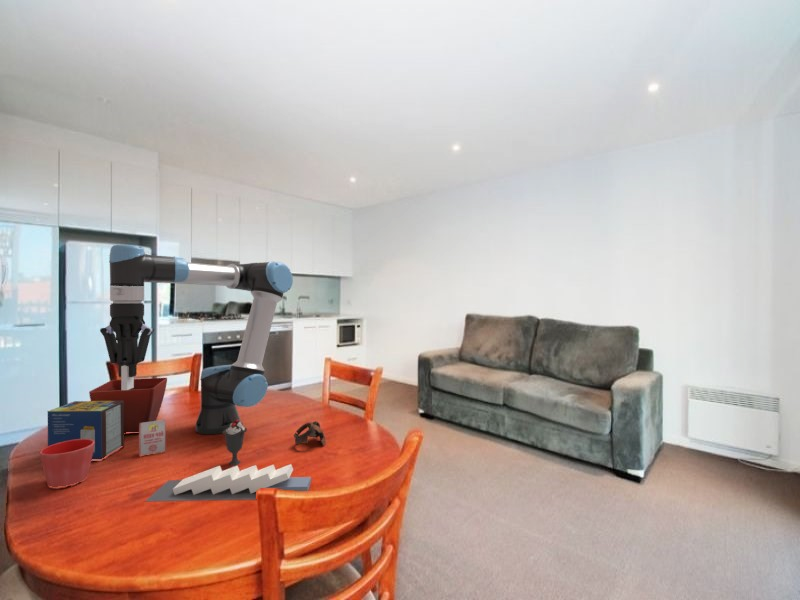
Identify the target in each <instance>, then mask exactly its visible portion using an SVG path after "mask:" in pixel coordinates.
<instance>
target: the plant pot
mask: <svg viewBox="0 0 800 600" xmlns="http://www.w3.org/2000/svg"><path fill="white" fill-rule="evenodd" d="M167 382H168V377H149V378H134V388H131V389H129V390H121V379H111V380H109V381H107V382H105V383H103V384H102V385H100V386H97V387H95V388H93V389H92V390H89V393H88V394H89V399H90V400H89V401H123V408H124V409H123V411H124V433H126V432H139V423H144V422H151V421H157V419H158V417H159V413H160V411H161V408H162V404H163V402H164V397H165V394H166V388H167V384H168V383H167Z"/></svg>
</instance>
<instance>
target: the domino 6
mask: <svg viewBox="0 0 800 600" xmlns="http://www.w3.org/2000/svg"><path fill="white" fill-rule="evenodd" d="M311 483H312V476H290V477H289V479H287V480H285V481H282V482H279V483H277V484H274V485H272V486H269V487H267V488H278V489H283V490H294V491H308V492H309V490H310V487H311Z"/></svg>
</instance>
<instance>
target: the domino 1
mask: <svg viewBox="0 0 800 600" xmlns="http://www.w3.org/2000/svg"><path fill="white" fill-rule="evenodd" d="M222 471H223V469H222V467H221V465H217V466H215V467H212V468H210V469H207V470H204V471H201V472H199V473H196V474H194V475H191V476H189V477H188V476H187V477H185V478H182V479H181V480H182V481H181V482H180V483H179V484H178V485H176V486H175V487H174V488H173V492H174V494H175V495H177V494H179V493H182V492H185V491H187V490H190V489H193V488H195V487H198V486H201V485H203V484H206V483H209V482H211V481H214V480H215V479H216V477H217V476H218V475H219V474H220V473H221V472H222Z"/></svg>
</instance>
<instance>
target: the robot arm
mask: <svg viewBox="0 0 800 600" xmlns="http://www.w3.org/2000/svg"><path fill="white" fill-rule="evenodd" d="M108 263H109V301H111V302H112V303H110V305H109V316H110V318H111V319H110V321H109V324H108V325H107V326H105V327H101V328H100V330H99V331H100V333H101V335H102V336H103V337H104V338H103V339H104V341H105V345H106V350H107V353H108V358H109V362H110V363H111V364H115V365H118V377H119V378H120V380H121V390H129V389H131V388H134V379H135V378H134V377H136V376H137V373H138V372H137V365H138V364H140V363H142V362H144V361H145V359H146V356H147V351H148V346H149V343H150V339H151V336H152V335H153V333H154V331H155V328H154V327H150V326H148V325H147V324H146V322H145V320H144V316H145V304H144V303H143V302H144V301H145V283H153V284H154V283H156V284H157V283H161V284H178V285H179V284H180V285H185V284H186V285H203V286H222V287H223V286H224V287H226V288H228V289H230V290H241V291H247V292H250V294H251V295H252V297H253V299H252V303H251V307H250V311H249V313H248V318H247V321H246V326H245V329H244V334H243V336H242V341H241V345H240V350H239V351H238V352H239V353H238V356H237V360H236V361H235V362H233V363H232V364H223V365H216V366H209V367H205V368H203V369H202V371H201V372H200V373H201V374H200V410H199V413H198V416H197V418H196V419H197V420H196V422H195V432H196V433H197V432H198V434H200V435H217V434H218V435H220V434H223V433H222V432H223V431H224V430H225V429H227V428H228V427H229V426H230V424H231V423H232V422H233V419H234V421H235V419H237V420H238V421H240V422H241V417H240V414H239V411H238V409H237V407H245V408H251V407H255V406H257V405H258V404H259V402H260V403H261V402H262V400H263V399H264V397H265V396H266V394H267V391H268V386H269V385H268V381H267V378H266V377H265V376H264V375H265V370H266V369H264V367H263V365H262V364H263V361H264V357H265V353H266V348H267V345H268V342H269V341H268V340H269V336H270V333H271V329H272V325H273V321H274V317H275V313H276V308H277V306H278V305H277V304H278V303H279V302H281V301H282V300H283V297H284V294H285V293H288V292H289V290H290V289H291V288H292V287H293V283H294V280H293V279H294V277H293V274H292V272H291V269H290V268H289V266H288V265H286V264H285V263H283V262H280V261H268V262H267V261H266V262H251V263H237V264H236V263H230V264H228V265H219V264H209V263H199V262H188V261H187V260H186V258H183V257H177V256H166V255H154V254H153V255H151V254H147V253H146V252H145V249H144V247H143V246H140V245H132V244H114V245H112V246H111V247H110V251H109V261H108ZM139 333H141V334H139ZM235 416H236V417H235ZM234 417H235V418H234Z"/></svg>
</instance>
